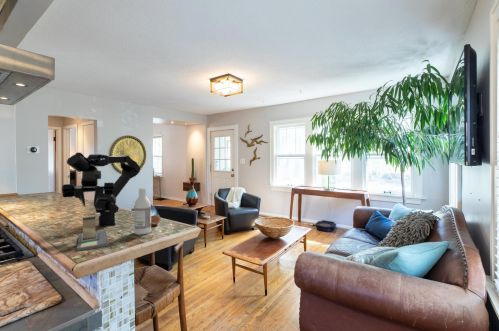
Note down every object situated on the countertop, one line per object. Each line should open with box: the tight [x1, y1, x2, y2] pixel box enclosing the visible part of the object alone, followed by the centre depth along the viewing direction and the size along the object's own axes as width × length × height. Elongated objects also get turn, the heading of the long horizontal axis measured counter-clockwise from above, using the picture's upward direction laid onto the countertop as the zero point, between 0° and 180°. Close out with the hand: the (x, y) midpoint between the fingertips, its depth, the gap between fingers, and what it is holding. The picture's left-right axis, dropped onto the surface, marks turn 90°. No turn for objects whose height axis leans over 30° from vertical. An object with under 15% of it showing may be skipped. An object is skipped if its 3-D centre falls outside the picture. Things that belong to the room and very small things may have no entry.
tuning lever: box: [82, 216, 96, 240], centre depth 96 cm, size 2×4×9 cm, turn 122°
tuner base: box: [76, 230, 109, 252], centre depth 98 cm, size 20×10×4 cm, turn 32°
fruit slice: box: [151, 214, 161, 227], centre depth 121 cm, size 8×7×5 cm
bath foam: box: [133, 187, 152, 236], centre depth 109 cm, size 7×7×20 cm
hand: (89, 205), depth 101 cm, fingers open, 3 cm apart
